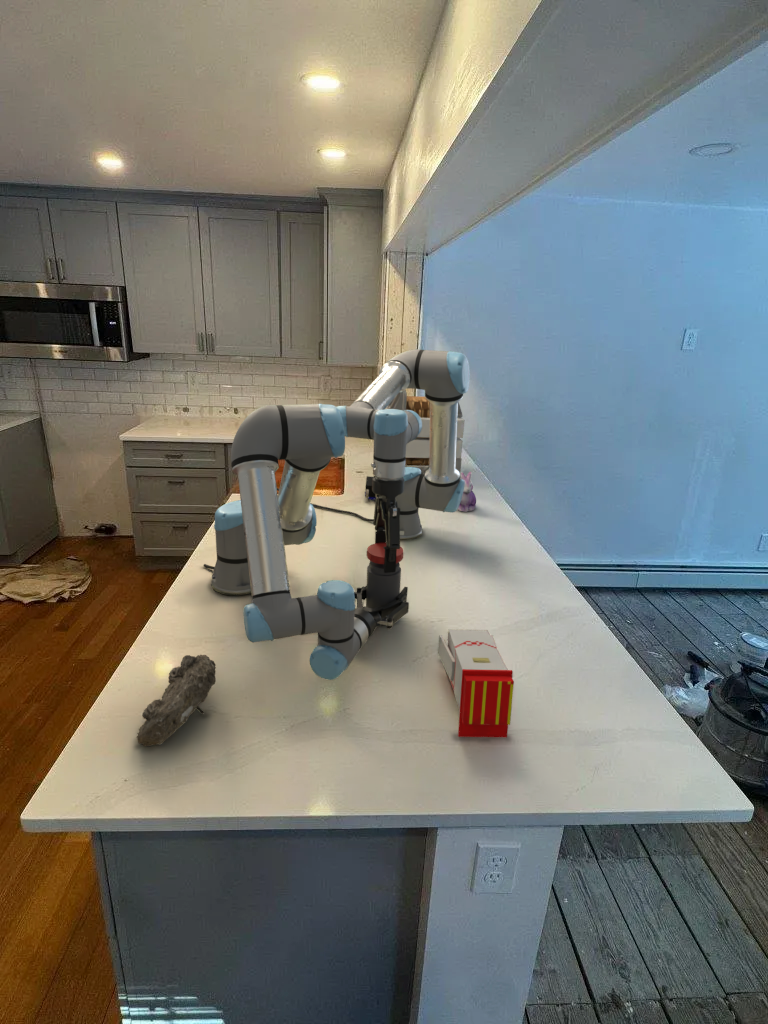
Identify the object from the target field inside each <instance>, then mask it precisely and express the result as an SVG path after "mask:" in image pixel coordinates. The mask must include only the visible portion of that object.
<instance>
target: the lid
mask: <svg viewBox="0 0 768 1024" xmlns="http://www.w3.org/2000/svg"><path fill="white" fill-rule="evenodd" d="M385 546H386V543H375V542H374V543H372V544H370V545H368V546H367V548H366V558H367V560H369V562H370V561H372V562H374V563H378V564H384V558H385V549H384V547H385ZM403 559H404V548H403V547H402V546H400V549H397V553H396V563H398V562H399V563H400V562H402V561H403Z"/></svg>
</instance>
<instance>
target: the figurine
mask: <svg viewBox="0 0 768 1024" xmlns="http://www.w3.org/2000/svg"><path fill="white" fill-rule="evenodd" d="M471 478H472V471H469V472H467V474H466V475H465V474H464V472H462V471H461V474H460V479H463V480H464V481H465V486H464V491H463V495H462V499H461V502H460V505H459V507H458V509H457V511H460V512H464V513H465V512H466V513H467V512H471V511H474V510H475V509H476V505H477V497H476V494H475V493H474V491H473V490H474V485H473V482H472V480H471Z"/></svg>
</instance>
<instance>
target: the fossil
mask: <svg viewBox="0 0 768 1024" xmlns="http://www.w3.org/2000/svg"><path fill="white" fill-rule="evenodd" d="M216 666H217V664H216V663H215V661H214V660H213V659H211V658H210V657H209V656H208V655H206V654H197V656H193V655H189V654H187V655H184V656H183V657H182V660H181V661H180V666H177V667H176V666H175V667H173V668H172V669H171V670H170V671H169V673H168V683H169V684H168V685H167V687H166V688H165V689H164V690H165V691H163V693H162V695H161V699H154V700H152V702H151V703H149V704H148V705H147V706H146V708H144V709H143V712H142V716H141V717H142V718H143V719H145V721H144V722H143V724H142V725H141V726H140V727H139V728H138V732H137V734H136V735H137V736H136V739H137V742H138V744H140V745H141V744H142V745H143V746H144V747H150V746H151V747H152V746H156V745H159V746H160V745H162V744H163V743H164V742H165V741H167V740H168V739H169V738H170V737H171V736H172V735H174V734H175V732H176V731H177V730H178V729H179V728H181V727H182V726H183V725H184V724H185V723H187V720H188V719H190V715H192V714H194V712H195V711H196V710H197V711H198V712H199V713H200V714H201V715H203V714H205V712H204V710H203V709H202V708H200V706H199V705H200V703H203V702H204V701H205V700H206V699H207V698H208V695H209V693H210V691H211V689H212V687H213V686H214V685H215V684H216V682H217V680H216V672H217V671H216V669H217V667H216Z"/></svg>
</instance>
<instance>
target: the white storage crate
mask: <svg viewBox="0 0 768 1024" xmlns="http://www.w3.org/2000/svg"><path fill="white" fill-rule="evenodd" d="M407 394H408V393H407V389H406V390H404V391H403V392H400V393H398V394H397V395H396V397H395V398H394V399H393V400H392V402H391V403H390V404H389V405H388V406H387V408H386V409H398V410H412V411H414V412H416V413H417V414H418V415H419V416H420V418H421V421H422V429H421V432H420V433H419V435H418V436H417V437H416V438H415V439H414V440H413V441H411V442H409V443H407V444H406V455H405V459H406V462H405V466H406V467H417V466H418V467H429V454H430V402H429V401H428V400H427V399H426V398H425V396H415V395H414V396H413V395H412V396H411V395H407ZM464 429H465V419H464V418H463V411H462V408H461V405H460V401H459V402H458V413H457V440H456V466H455V469H457V470H458V471H459V473H460V475H461V472H462V461H463V460H462V453H463V442H464V441H463V440H462V439H463V438H464V431H465V430H464Z"/></svg>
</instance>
